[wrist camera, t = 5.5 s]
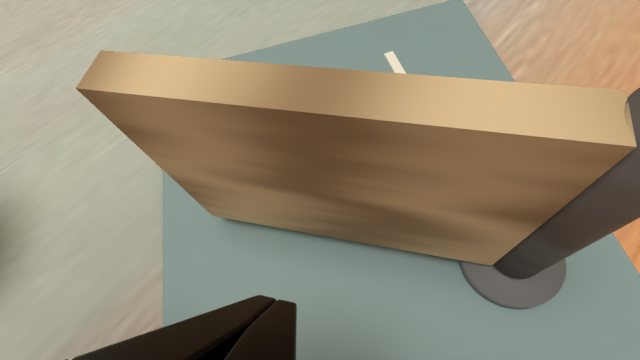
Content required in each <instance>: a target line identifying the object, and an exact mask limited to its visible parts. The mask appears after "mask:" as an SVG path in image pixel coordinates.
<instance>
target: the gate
mask: <svg viewBox="0 0 640 360" xmlns="http://www.w3.org/2000/svg"><path fill="white" fill-rule="evenodd" d="M76 89H77V90H78V91H79V92H80V93H81V94H83V95H84V96H85V97H86V98H87V99H88V100H89V101H90V102H91V103H92V104H93V105H94V106H95V107H96V108H97V109H99V110H100V111H101V112H102V113H103V114H104V115H105V116H106V117H107V118H108V119H109V120H110V121H111V122H112V123H114V124H115V125H116V126H117V127H118V128H119V129H120V130H121V131H122V132H123V133H124V134H125V135H126V136H127V137H128V138H130V139H131V140H132V141H133V142H134V143H135V144H136V145H137V146H138V147H139V148H140V149H141V150H142V151H143V152H144V153H146V154H147V155H148V156H149V157H150V158H151V159H152V160H153V161H154V162H155V163H156V164H157V165H158V166H159V167H161V168H162V169H163V170H164V171H165V172H166V173H167V174H168V175H169V176H170V177H171V178H172V179H173V180H174V181H175V182H177V183H178V184H179V185H180V186H181V187H182V188H183V189H184V190H185V191H186V192H187V193H188V194H189V195H190V196H192V197H193V198H194V199H195V200H196V201H197V202H198V203H199V204H200V205H201V206H202V207H203V208H204V209H205V210H206V211H208V212H209V213H210V214H211V215H212V216H216V217H222V218H227V219H233V220H239V221H244V222H250V223H255V224H261V225H266V226H272V227H278V228H283V229H289V230H294V231H300V232H306V233H311V234H317V235H322V236H328V237H334V238H339V239H345V240H350V241H356V242H361V243H367V244H373V245H378V246H384V247H389V248H395V249H401V250H406V251H412V252H417V253H423V254H429V255H434V256H440V257H445V258H451V259H457V260H462V261H468V262H473V263H479V264H484V265H490V266H492V265H493V264H494V265H495V267H496V268H497V269H498V270H499V271H501V272H502V273H503V274H505V275H507V276H509V277H512V278H516V279H526V278H530V277H532V276H534V275H536V274H537V273H539V272H541V271H543V270H545V269H547V268H548V267H550V266H552V265H554V264H556V263H558V262H559V261H561V260H563V259H565V258H567V257H568V256H570V255H572V254H574V253H576V252H578V251H579V250H581V249H583V248H585V247H587V246H589V245H590V244H592V243H594V242H596V241H598V240H600V239H601V238H603V237H605V236H607V235H609V234H611V233H612V232H614V231H616V230H618V229H620V228H621V227H623V226H625V225H627V224H629V223H631V222H632V221H634V220H636V219H638V218H640V88H638V89H637V90H635V91H634V92H633V93H632V94H631V95H630V96H629V97H628V98H627V92H626V90H613V89H600V88H587V87H574V86H561V85H548V84H534V83H521V82H508V81H495V80H482V79H469V78H456V77H442V76H429V75H416V74H403V73H390V72H377V71H364V70H350V69H337V68H324V67H311V66H298V65H285V64H271V63H258V62H245V61H232V60H219V59H206V58H193V57H179V56H166V55H153V54H140V53H127V52H114V51H100V53H99V54H98V56H97V57H96V59H95V60H94V62H93V63H92V65H91V66H90V68H89V69H88V71H87V72H86V74H85V75H84V77H83V78H82V80H81V81H80V83H79V84H78V86H77V87H76Z"/></svg>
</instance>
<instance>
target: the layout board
mask: <svg viewBox="0 0 640 360" xmlns="http://www.w3.org/2000/svg"><path fill="white" fill-rule="evenodd" d="M221 60H232V61H245V62H258V63H271V64H285V65H298V66H311V67H324V68H337V69H350V70H364V71H377V72H390V73H403V74H416V75H429V76H442V77H456V78H469V79H482V80H495V81H508V82H515V81H514V79H513V78H512V76H511V74H510V73H509V71H508V70H507V68H506V67H505V65H504V64H503V62H502V61H501V59H500V57H499V56H498V54H497V53H496V51H495V50H494V48H493V47H492V45H491V43H490V42H489V40H488V39H487V37H486V36H485V34H484V33H483V31H482V30H481V28H480V26H479V25H478V23H477V22H476V20H475V19H474V17H473V16H472V14H471V13H470V11H469V9H468V8H467V6H466V5H465V3H464V2H463V0H451V1H447V2H443V3H439V4H435V5H432V6H428V7H424V8H420V9H416V10H412V11H408V12H404V13H400V14H397V15H393V16H389V17H385V18H381V19H377V20H373V21H369V22H365V23H362V24H358V25H354V26H350V27H346V28H342V29H338V30H334V31H330V32H327V33H323V34H319V35H315V36H311V37H307V38H303V39H299V40H295V41H292V42H288V43H284V44H280V45H276V46H272V47H268V48H264V49H260V50H256V51H253V52H249V53H245V54H241V55H237V56H233V57H229V58H225V59H221ZM256 295H263V296H268V297H272V298H275V299H276V300H279V299H280V300H285V301H290V302H294V303H296V305H297V336H296V360H640V274H639V273H638V271H637V270H636V268H635V266H634V265H633V263H632V262H631V260H630V259H629V257H628V256H627V254H626V253H625V251H624V249H623V248H622V246H621V245H620V243H619V242H618V240H617V239H616V237H615V236H614V234H613V232H612V233H611V234H609V235H607V236H605V237H603V238H601V239H600V240H598V241H596V242H594V243H592V244H590V245H589V246H587V247H585V248H583V249H581V250H579V251H578V252H576V253H574V254H572V255H570V256H568V257H567V258H565V259H563V260H561V261H559V262H558V263H556V264H554V265H552V266H550V267H548V268H547V269H545V270H543V271H541V272H539V273H537V274H536V275H534V276H532V277H530V278H526V279H516V278H512V277H509V276H507V275H505V274H503V273H502V272H501V271H499V270H498V269H497V268H496V267H495V265H494V264H493V265H492V266H490V265H484V264H479V263H473V262H468V261H462V260H457V259H451V258H445V257H440V256H434V255H429V254H423V253H417V252H412V251H406V250H401V249H395V248H389V247H384V246H378V245H373V244H367V243H361V242H356V241H350V240H345V239H339V238H334V237H328V236H322V235H317V234H311V233H306V232H300V231H294V230H289V229H283V228H278V227H272V226H266V225H261V224H255V223H250V222H244V221H239V220H233V219H227V218H222V217H216V216H212V215H211V214H210V213H209V212H208V211H206V210H205V209H204V208H203V207H202V206H201V205H200V204H199V203H198V202H197V201H196V200H195V199H194V198H193V197H192V196H190V195H189V194H188V193H187V192H186V191H185V190H184V189H183V188H182V187H181V186H180V185H179V184H178V183H177V182H175V181H174V180H173V179H172V178H171V177H170V176H169V175H168V174H167V173H166V172H165V171H164V170H163V327H165V326H168V325H171V324H174V323H177V322H180V321H183V320H186V319H189V318H192V317H195V316H198V315H201V314H203V313H206V312H209V311H212V310H215V309H218V308H221V307H224V306H227V305H230V304H233V303H236V302H239V301H242V300H245V299H247V298H250V297H253V296H256Z"/></svg>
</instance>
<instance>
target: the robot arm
mask: <svg viewBox="0 0 640 360" xmlns="http://www.w3.org/2000/svg"><path fill="white" fill-rule="evenodd" d="M296 336H297V305H296V303H294V302H290V301H285V300H280V299H279V300H276V299H275V298H272V297H268V296H263V295H256V296H253V297H250V298H247V299H245V300H242V301H239V302H236V303H233V304H230V305H227V306H224V307H221V308H218V309H215V310H212V311H209V312H206V313H203V314H201V315H198V316H195V317H192V318H189V319H186V320H183V321H180V322H177V323H174V324H171V325H168V326H165V327H162V328H159V329H157V330H154V331H151V332H148V333H145V334H142V335H139V336H136V337H133V338H130V339H127V340H124V341H121V342H118V343H115V344H113V345H110V346H107V347H104V348H101V349H98V350H95V351H92V352H89V353H86V354H83V355H80V356H77V357H75V358H73V359H72V360H296ZM66 360H68V359H66Z"/></svg>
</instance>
